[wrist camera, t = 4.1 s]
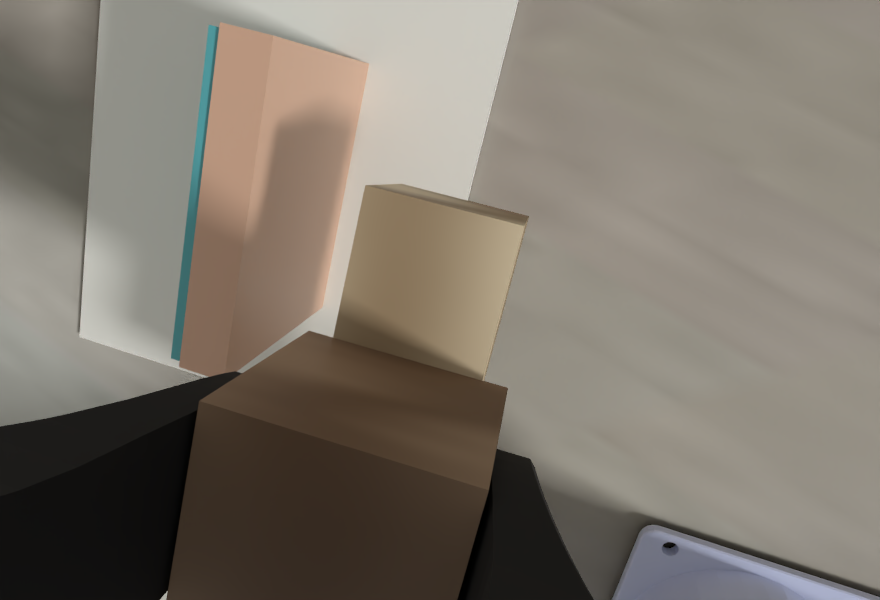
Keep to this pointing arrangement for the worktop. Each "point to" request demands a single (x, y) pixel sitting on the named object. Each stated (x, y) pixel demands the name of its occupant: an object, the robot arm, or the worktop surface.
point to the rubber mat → (175, 125)
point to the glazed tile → (262, 194)
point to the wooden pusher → (361, 423)
